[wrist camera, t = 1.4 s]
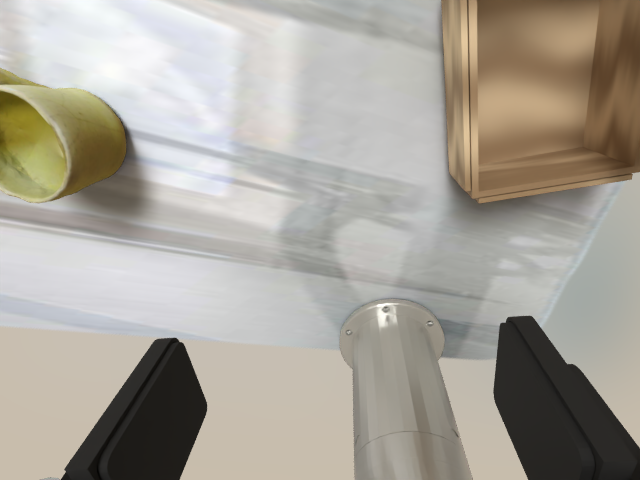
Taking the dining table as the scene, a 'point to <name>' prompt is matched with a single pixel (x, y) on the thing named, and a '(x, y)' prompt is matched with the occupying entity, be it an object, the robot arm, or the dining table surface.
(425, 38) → the dining table surface
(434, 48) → the dining table surface
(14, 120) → the mug
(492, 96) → the wooden box
